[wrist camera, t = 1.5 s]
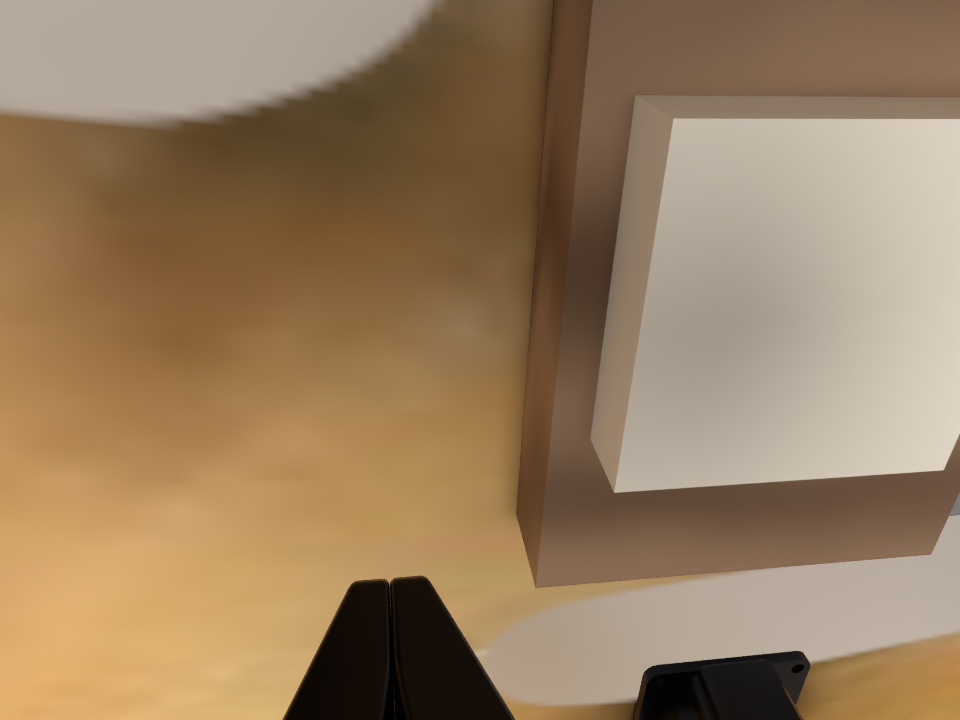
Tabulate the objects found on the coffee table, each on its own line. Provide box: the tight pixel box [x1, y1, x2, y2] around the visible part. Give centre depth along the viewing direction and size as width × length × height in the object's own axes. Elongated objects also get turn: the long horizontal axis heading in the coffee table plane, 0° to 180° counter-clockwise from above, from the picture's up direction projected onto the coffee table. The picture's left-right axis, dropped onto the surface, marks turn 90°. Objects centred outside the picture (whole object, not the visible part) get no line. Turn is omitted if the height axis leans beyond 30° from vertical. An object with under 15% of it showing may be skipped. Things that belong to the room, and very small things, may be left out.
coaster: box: [590, 95, 960, 493], centre depth 16 cm, size 8×8×2 cm
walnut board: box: [516, 0, 960, 588], centre depth 18 cm, size 18×12×3 cm, turn 178°
